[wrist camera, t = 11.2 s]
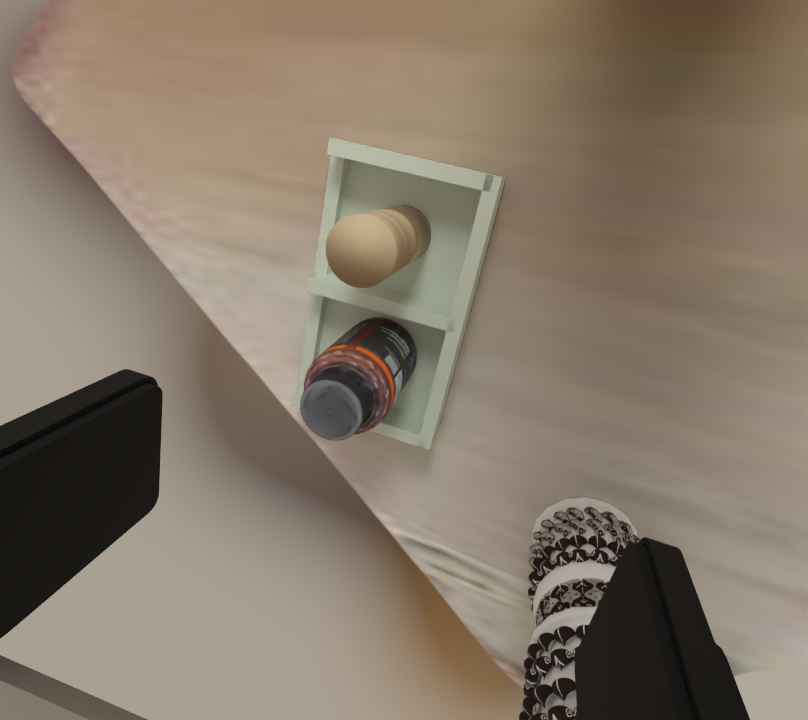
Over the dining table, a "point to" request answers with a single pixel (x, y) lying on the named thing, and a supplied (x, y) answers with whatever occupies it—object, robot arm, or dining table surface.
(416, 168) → the rack
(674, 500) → the dining table surface
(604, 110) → the dining table surface
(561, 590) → the decorative candle
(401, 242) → the beige rounded cylinder
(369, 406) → the supplement bottle
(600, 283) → the dining table surface
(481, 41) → the dining table surface
